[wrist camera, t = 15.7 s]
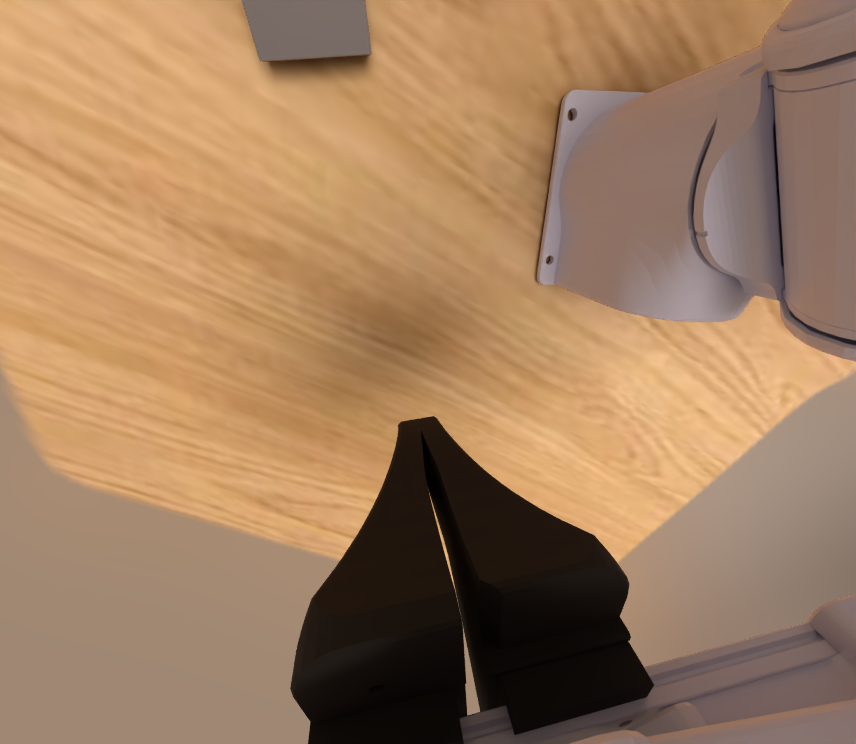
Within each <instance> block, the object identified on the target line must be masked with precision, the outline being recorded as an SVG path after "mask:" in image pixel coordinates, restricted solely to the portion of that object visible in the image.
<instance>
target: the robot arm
mask: <svg viewBox="0 0 856 744" xmlns="http://www.w3.org/2000/svg"><path fill="white" fill-rule="evenodd" d="M569 110H570V111H572V113H573V118H572V120H571V121H569V119H568V112H569ZM548 256H550V261H549V262H548V263H547V264H546V258H547V257H548ZM537 281H538V282H539V283H540V284H542V285H557V286H559V287H562V288H564V289H567V290H569V291H572V292H574V293H577V294H579V295H581V296H584V297H586V298H589V299H591V300H594V301H596V302H599V303H601V304H604V305H606V306H609V307H611V308H614V309H617V310H620V311H624V312H627V313H632V314H636V315H641V316H646V317H651V318H657V319H664V320H672V321H685V322H720V321H727V320H732V319H735V318H737V317H739V316H740V315H741V314H742V312H743V311H744V310H745V308H746V307H747V305H748V304H749V302H750V301H751V299H752V298H753V297H754V295H756V296H760V297H765V298H769V299H774V300H778V301H780V314H781V319H782V321H783V323H784V325H785V327H786V328H787V329H788V330H789V331H790V332H791V333H792V334H793V335H794V336H795V337H796V338H798V339H799V340H801V341H802V342H804V343H805V344H807V345H809V346H811V347H813V348H815V349H818V350H820V351H822V352H825V353H828V354H831V355H834V356H837V357H840V358H843V359H847V360H852V361H856V0H792V1H791V2H790V3H789V5H788V6H787V8H786V9H785V11H784V12H783V13H782V15H781V17H779V18H778V20H777V21H776V22H775V23H774V24H773V25H772V26H771V27H770V28H769V30H768V31H767V33H766V34H765V36H764V38H763V39H762V44H761V46H759V47H757V48H755V49H752V50H750V51H747V52H745V53H743V54H740V55H738V56H735V57H733V58H731V59H728V60H726V61H723V62H721V63H719V64H716V65H714V66H711V67H709V68H707V69H704V70H702V71H699V72H697V73H695V74H692V75H690V76H687V77H685V78H683V79H680V80H678V81H675V82H673V83H671V84H668V85H666V86H663V87H661V88H659V89H656V90H654V91H651V92H649V93H644V92H622V91H600V90H578V89H576V90H572V91H570V92H568V93H567V94H566V95H565V96H564V98H563V100H562V103H561V110H560V117H559V124H558V131H557V138H556V145H555V152H554V159H553V166H552V173H551V180H550V187H549V194H548V201H547V208H546V215H545V222H544V229H543V236H542V243H541V250H540V258H539V265H538V272H537ZM428 490H429V491H428ZM429 493H430V495H429ZM430 496H431V499H432V503H433V506H434V509H435V512H436V516H437V519H438V522H439V525H440V529H441V532H442V535H443V538H444V541H445V545H446V549H447V553H448V557H449V561H450V566H451V571H452V575H453V580H454V585H455V589H456V593H455V589H454V586H453V582H452V579H451V575H450V572H449V568H448V564H447V561H446V557H445V553H444V550H443V546H442V542H441V538H440V535H439V531H438V527H437V523H436V519H435V515H434V511H433V507H432V503H431V499H430ZM628 589H629V582H628V579H627V576H626V575H625V573H624V572H623V571H622V569H621V568H620V566H619V565H618V563H617V562H616V561H615V559H614V558H613V557H612V556H611V554H610V553H609V552H608V551H607V549H606V548H605V547H604V546H603V545H602V544H601V543H600V541H599V540H598V539H597V538H596V537H595V536H594V535H592V534H590V533H588V532H586V531H584V530H582V529H580V528H577V527H575V526H573V525H571V524H569V523H567V522H565V521H562V520H560V519H558V518H556V517H554V516H553V515H551V514H549V513H547V512H545V511H543V510H542V509H540V508H538V507H536V506H535V505H533V504H532V503H530V502H528V501H527V500H525V499H524V498H522V497H520V496H519V495H517V494H516V493H514V492H513V491H511V490H510V489H508V488H507V487H506V486H504V485H503V484H502V483H500V482H499V481H498V480H496V479H495V478H494V477H492V476H491V475H490V474H489V473H488V472H486V471H485V470H484V469H483V468H482V467H481V466H479V465H478V464H477V463H476V462H475V461H474V460H473V459H472V458H471V457H470V456H469V455H468V454H467V453H466V452H465V451H464V450H463V449H462V448H461V447H460V446H459V445H458V444H457V443H456V442H455V441H454V440H453V438H452V437H451V436H450V435H449V434H448V433H447V431H446V430H445V429H444V428H443V426H442V425H441V424H440V422H439V421H438V419H437V418H436V417H434V416H432V417H426V418H421V419H415V420H409V421H403V422H400V424H399V425H398V437H397V442H396V447H395V451H394V454H393V458H392V461H391V464H390V467H389V470H388V473H387V475H386V478H385V481H384V483H383V486H382V488H381V491H380V493H379V495H378V497H377V499H376V501H375V503H374V505H373V507H372V509H371V511H370V513H369V515H368V517H367V519H366V521H365V522H364V524H363V526H362V528H361V529H360V531H359V533H358V534H357V536H356V537H355V539H354V541H353V542H352V544H351V545H350V547H349V548H348V550H347V551H346V553H345V554H344V556H343V557H342V559H341V560H340V562H339V563H338V565H337V566H336V567H335V569H334V570H333V571H332V573H331V574H330V575H329V577H328V578H327V579H326V581H325V582H324V583H323V585H322V586H321V587H320V589H319V590H318V591H317V592H316V594H315V595H314V596H313V598H312V600H311V602H310V605H309V608H308V611H307V614H306V617H305V620H304V623H303V626H302V630H301V634H300V638H299V641H298V646H297V650H296V656H295V662H294V669H293V675H292V682H291V688H290V689H291V692H292V695H293V697H294V699H295V700H296V701H297V703H298V704H299V706H300V707H301V709H302V710H303V712H304V713H305V715H306V716H307V717H308V719H309V720H310V722H311V723H310V732H309V740H308V744H856V594H853V595H850V596H846V597H843V598H839V599H835V600H832V601H829V602H827V603H825V604H823V605H822V606H820V607H819V608H818V609H816V610H815V611H814V612H813V613H812V615H811V616H810V617H809V622H806V623H803V624H799V625H795V626H792V627H789V628H785V629H781V630H777V631H773V632H770V633H767V634H763V635H759V636H755V637H752V638H748V639H745V640H741V641H738V642H734V643H730V644H726V645H723V646H719V647H716V648H712V649H708V650H704V651H701V652H697V653H694V654H690V655H686V656H683V657H679V658H675V659H672V660H668V661H664V662H661V663H657V664H653V665H650V666H646V667H643V665H642V664H641V662H640V660H639V659H638V657H637V655H636V653H635V652H634V650H633V648H632V647H631V645H630V643H629V642H628V641H629V640H630V638H631V636H630V633H629V631H628V630H627V628H626V626H625V625H624V623H623V621H622V620H621V618H620V614H621V612H622V609H623V606H624V603H625V601H626V598H627V595H628ZM456 594H457V597H456ZM457 599H458V602H457ZM458 604H459V606H458ZM459 609H460V611H459ZM460 613H461V615H460ZM461 618H462V619H461ZM462 623H463V626H462ZM463 628H464V633H465V637H466V643H467V647H468V652H469V657H470V662H471V667H472V672H473V677H474V682H475V687H476V692H477V697H478V702H479V707H480V712H479V713H476V714H472V715H468V716H467V706H466V691H465V684H466V673H465V658H464V643H463V642H464V641H463Z"/></svg>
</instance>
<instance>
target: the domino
mask: <svg viewBox="0 0 856 744" xmlns="http://www.w3.org/2000/svg"><path fill="white" fill-rule="evenodd" d="M242 3H243V6H244V9H245V13H246V16H247V19H248V23H249V26H250V29H251V33H252V36H253V39H254V43H255V46H256V49H257V53H258V56H259V59H260V61H264V62H272V61H287V60H303V59H318V58H334V57H349V56H365V55H371V46H370V38H369V29H368V21H367V13H366V5H365V0H242Z"/></svg>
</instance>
